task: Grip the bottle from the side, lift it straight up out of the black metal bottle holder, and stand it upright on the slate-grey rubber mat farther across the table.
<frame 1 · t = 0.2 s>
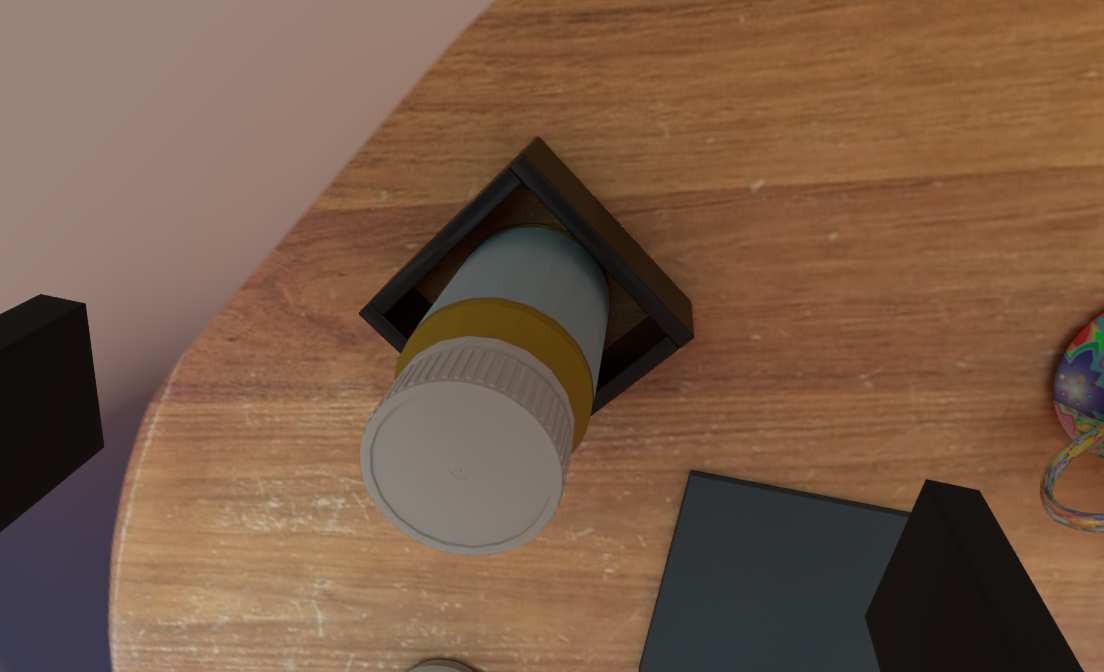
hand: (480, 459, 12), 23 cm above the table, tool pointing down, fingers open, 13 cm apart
mat: (791, 601, 42), on the table
holder: (536, 292, 36), on the table
bottle: (536, 290, 36), resting in holder
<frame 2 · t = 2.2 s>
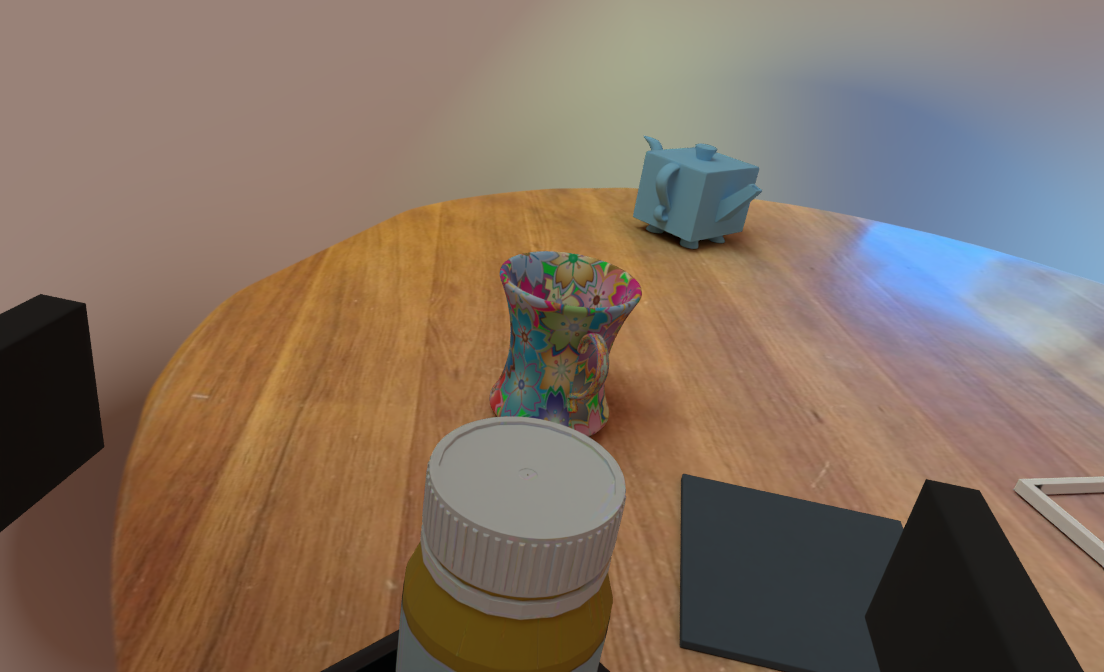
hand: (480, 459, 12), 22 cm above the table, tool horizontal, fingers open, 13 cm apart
mug: (552, 428, 54), on the table
mat: (803, 579, 44), on the table
teapot: (682, 234, 98), on the table
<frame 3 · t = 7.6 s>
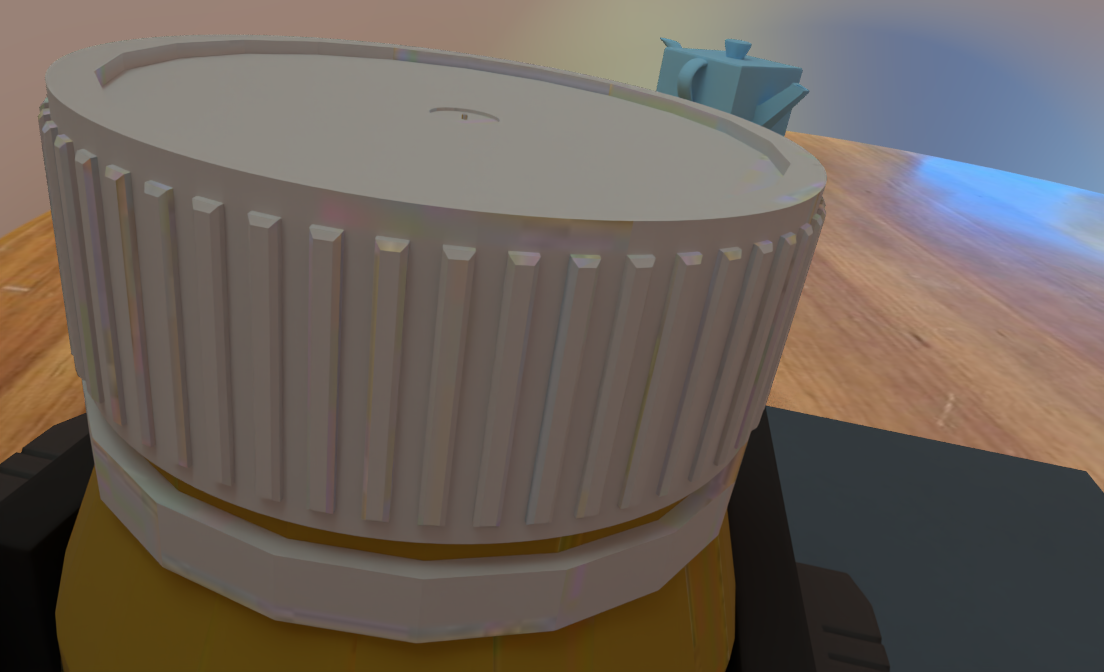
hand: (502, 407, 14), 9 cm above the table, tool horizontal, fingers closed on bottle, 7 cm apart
mat: (965, 557, 26), on the table
teapot: (707, 155, 81), on the table
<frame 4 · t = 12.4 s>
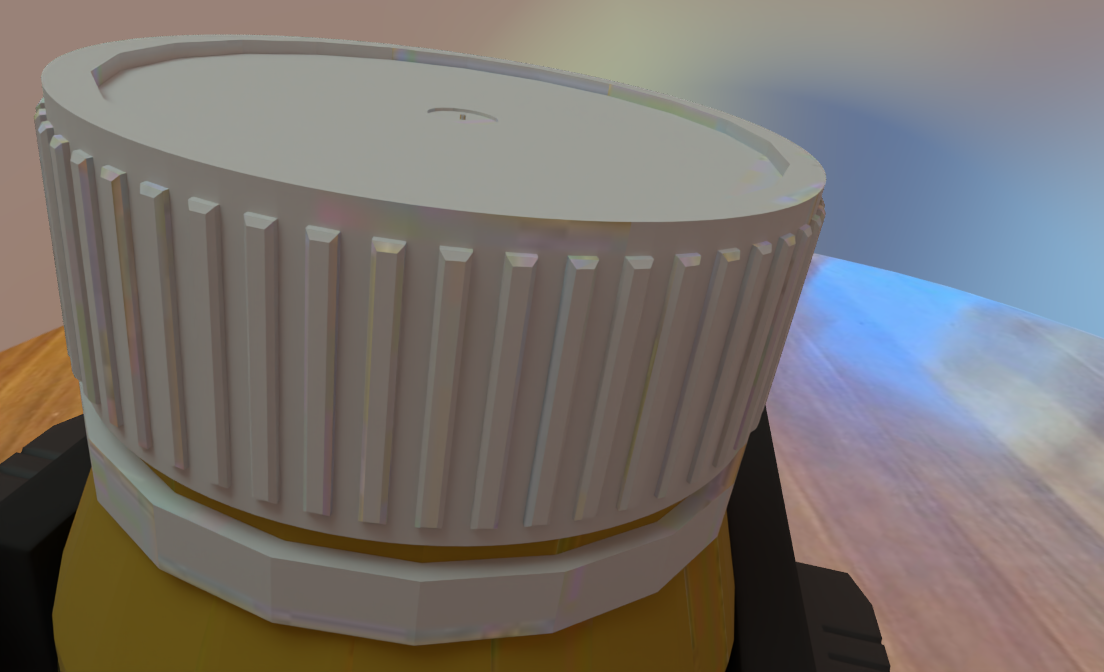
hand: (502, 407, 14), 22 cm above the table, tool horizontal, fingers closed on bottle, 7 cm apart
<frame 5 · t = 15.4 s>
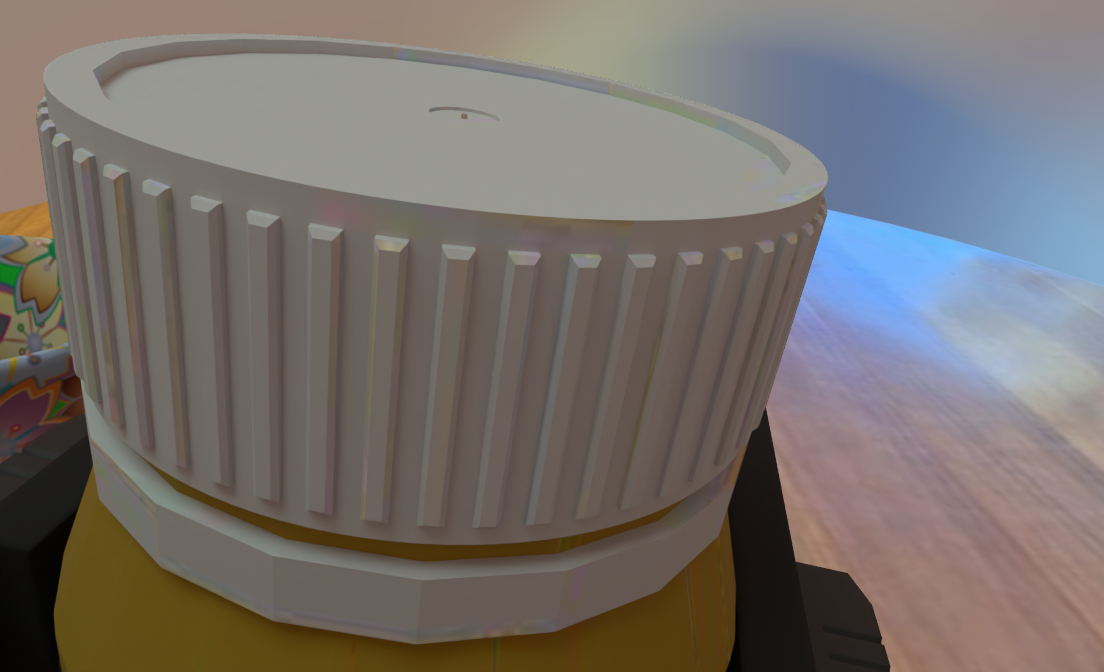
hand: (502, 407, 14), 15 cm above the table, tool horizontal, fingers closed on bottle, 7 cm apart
mug: (12, 604, 26), on the table
when the fingers open (9 cm above the table, at t = 17.2 s): bottle stays where it is, resting on mat.
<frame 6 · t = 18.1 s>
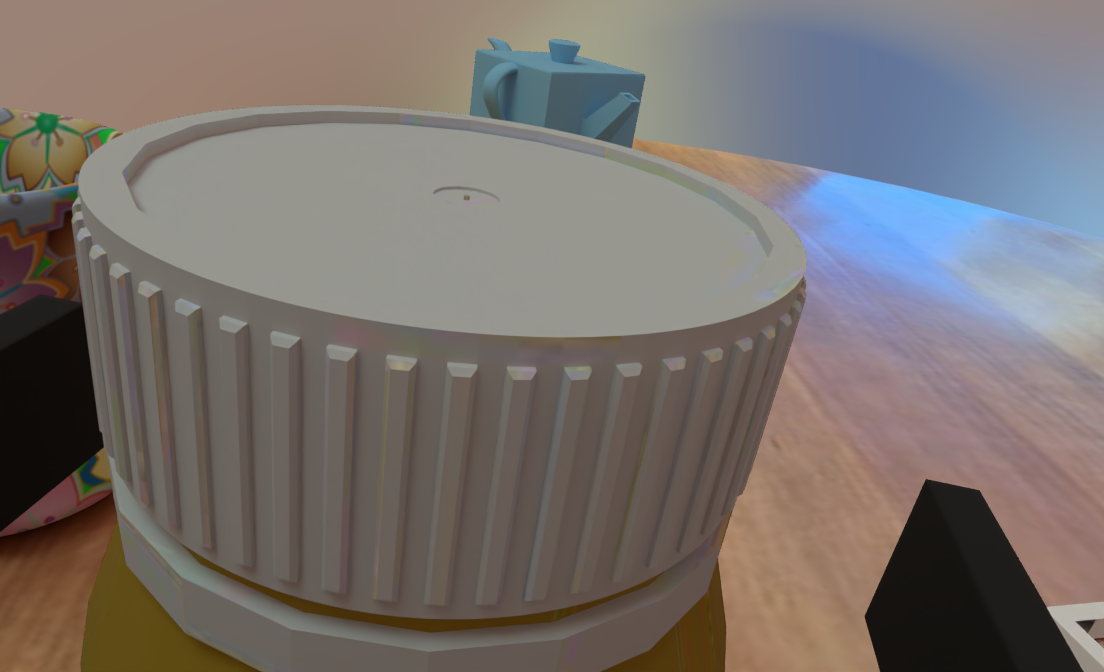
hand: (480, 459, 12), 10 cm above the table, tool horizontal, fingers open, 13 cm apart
teapot: (542, 177, 68), on the table
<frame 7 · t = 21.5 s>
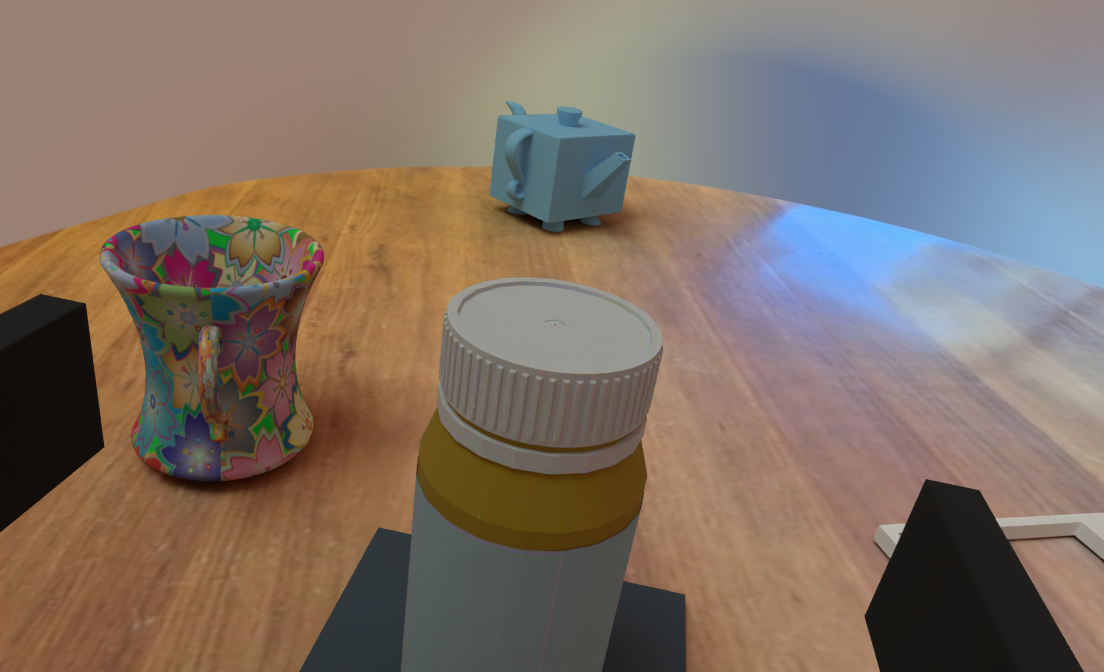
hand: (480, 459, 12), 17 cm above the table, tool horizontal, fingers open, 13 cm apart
mug: (225, 461, 39), on the table
teapot: (551, 216, 83), on the table
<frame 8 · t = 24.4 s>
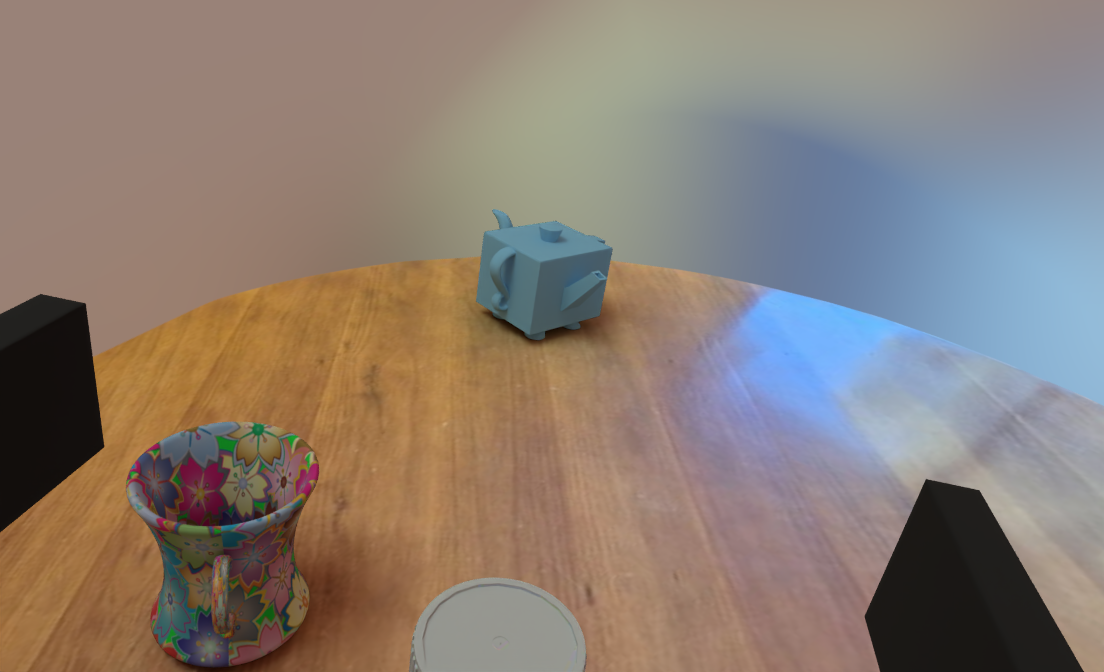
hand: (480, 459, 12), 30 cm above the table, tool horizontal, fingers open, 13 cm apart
mug: (232, 637, 44), on the table
teapot: (534, 318, 88), on the table
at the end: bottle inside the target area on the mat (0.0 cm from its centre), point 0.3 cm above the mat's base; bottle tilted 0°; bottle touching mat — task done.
